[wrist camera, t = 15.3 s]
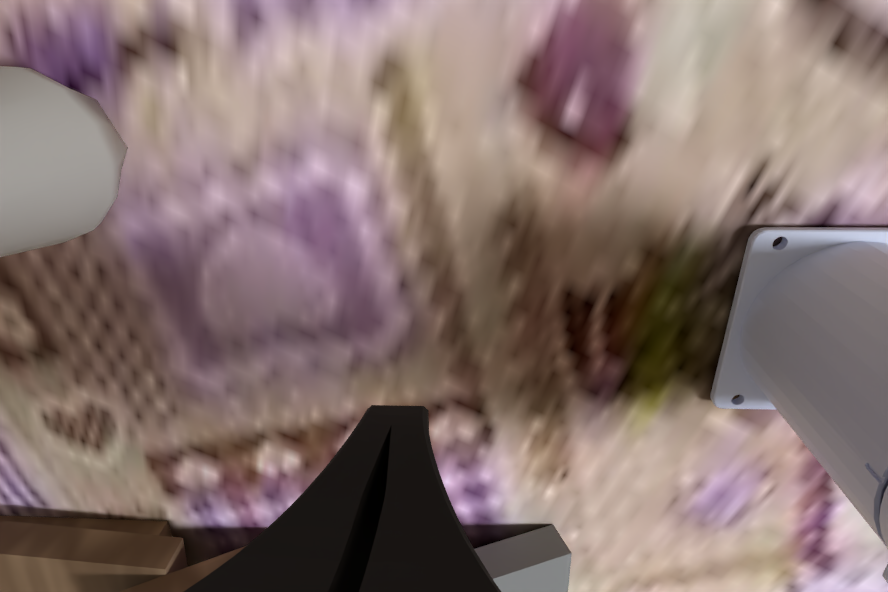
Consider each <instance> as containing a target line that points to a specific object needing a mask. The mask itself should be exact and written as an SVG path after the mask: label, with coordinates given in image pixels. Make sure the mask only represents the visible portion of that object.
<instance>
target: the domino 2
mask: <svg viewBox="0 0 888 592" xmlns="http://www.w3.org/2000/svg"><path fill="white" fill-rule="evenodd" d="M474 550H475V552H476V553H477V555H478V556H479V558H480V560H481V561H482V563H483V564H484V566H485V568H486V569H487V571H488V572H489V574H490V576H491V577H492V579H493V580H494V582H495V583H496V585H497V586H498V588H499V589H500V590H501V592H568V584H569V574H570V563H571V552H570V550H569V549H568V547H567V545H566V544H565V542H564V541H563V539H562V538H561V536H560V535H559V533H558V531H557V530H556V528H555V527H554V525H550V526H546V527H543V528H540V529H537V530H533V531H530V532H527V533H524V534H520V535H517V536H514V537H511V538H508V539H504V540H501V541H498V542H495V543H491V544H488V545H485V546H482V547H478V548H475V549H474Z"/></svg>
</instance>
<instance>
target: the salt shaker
mask: <svg viewBox="0 0 888 592" xmlns="http://www.w3.org/2000/svg"><path fill="white" fill-rule="evenodd" d="M126 152H127V146H126V145H125V143H124V142H123V140H122V139H121V137H120V135H119V134H118V132H117V131H116V129H115V128H114V126H113V125H112V123H111V121H110V120H109V118H108V117H107V115H106V114H105V112H104V111H103V109H102V108H101V106H100V104H99V103H98V101H97V100H96V99H93V98H91V97H89V96H86V95H84V94H81V93H79V92H77V91H74V90H72V89H70V88H68V87H66V86H64V85H62V84H60V83H58V82H56V81H54V80H52V79H50V78H48V77H46V76H44V75H43V74H41V73H39V72H37V71H35V70H33V69H31V68H22V67H8V66H0V257H4V256H8V255H13V254H17V253H21V252H26V251H30V250H34V249H39V248H43V247H47V246H51V245H56V244H60V243H64V242H67V241H69V240H71V239H74V238H76V237H78V236H81V235H83V234H86V233H88V232H90V231H93V230H94V229H95V228H96V227H97V226H99V225H100V224H101V222H102V221H103V219H104V218H105V216H106V214H107V213H108V211H109V209H110V208H111V206H112V204H113V203H114V201H115V200H116V198H117V196H118V189H119V183H120V176H121V169H122V166H123V162H124V159H125V155H126Z"/></svg>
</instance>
